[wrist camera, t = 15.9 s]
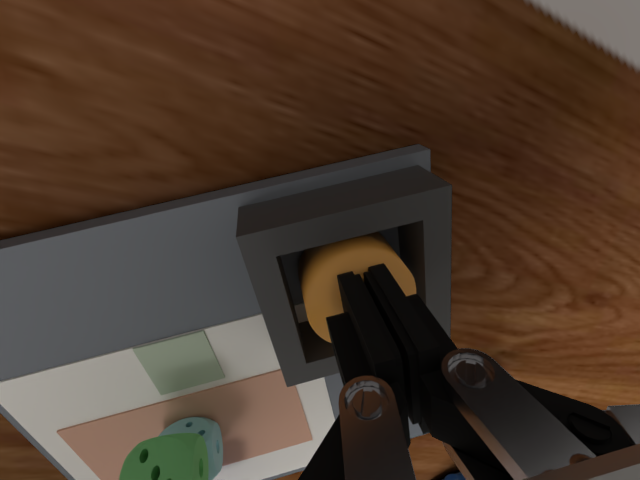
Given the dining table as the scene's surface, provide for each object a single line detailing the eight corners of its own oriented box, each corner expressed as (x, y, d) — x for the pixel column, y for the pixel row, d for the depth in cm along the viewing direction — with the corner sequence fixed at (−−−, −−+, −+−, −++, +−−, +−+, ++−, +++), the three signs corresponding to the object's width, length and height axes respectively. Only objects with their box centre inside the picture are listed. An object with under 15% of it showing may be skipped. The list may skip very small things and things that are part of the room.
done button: (395, 293, 15) (418, 330, 13) (308, 316, 15) (317, 357, 13) (388, 213, 13) (413, 241, 11) (288, 238, 13) (295, 271, 11)
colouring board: (428, 416, 22) (457, 472, 19) (121, 506, 21) (98, 582, 18) (418, 143, 14) (467, 166, 11) (-107, 264, 12) (-227, 331, 9)
